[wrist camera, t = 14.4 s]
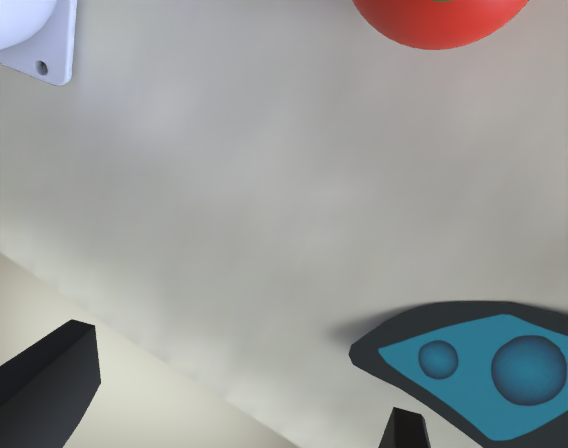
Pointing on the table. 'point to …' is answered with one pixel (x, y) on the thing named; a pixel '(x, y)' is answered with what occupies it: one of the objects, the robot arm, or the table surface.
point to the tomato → (438, 20)
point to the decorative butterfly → (479, 368)
